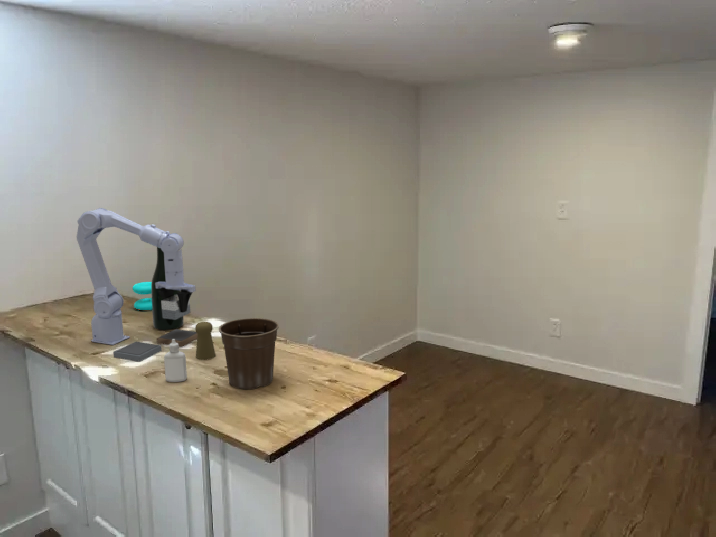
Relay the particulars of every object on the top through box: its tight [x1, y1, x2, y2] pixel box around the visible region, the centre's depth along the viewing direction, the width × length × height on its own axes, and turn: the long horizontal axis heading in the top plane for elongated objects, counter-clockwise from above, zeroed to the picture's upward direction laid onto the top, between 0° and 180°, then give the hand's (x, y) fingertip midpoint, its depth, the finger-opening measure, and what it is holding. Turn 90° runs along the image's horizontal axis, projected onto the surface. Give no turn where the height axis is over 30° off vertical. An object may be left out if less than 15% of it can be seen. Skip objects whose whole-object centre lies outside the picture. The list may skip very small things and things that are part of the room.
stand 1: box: [113, 341, 163, 363], centre depth 178 cm, size 10×10×2 cm
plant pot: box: [218, 317, 280, 390], centre depth 157 cm, size 16×16×16 cm
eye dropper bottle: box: [163, 339, 188, 383], centre depth 158 cm, size 4×6×12 cm
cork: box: [194, 321, 216, 361], centre depth 176 cm, size 6×6×11 cm
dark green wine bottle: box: [150, 247, 185, 331], centre depth 202 cm, size 10×10×33 cm
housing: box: [161, 294, 192, 320], centre depth 188 cm, size 5×8×6 cm, turn 159°
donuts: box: [132, 281, 152, 311], centre depth 227 cm, size 10×10×10 cm
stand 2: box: [156, 328, 197, 348], centre depth 191 cm, size 10×10×2 cm
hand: (177, 310), depth 189 cm, fingers closed on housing, 5 cm apart
